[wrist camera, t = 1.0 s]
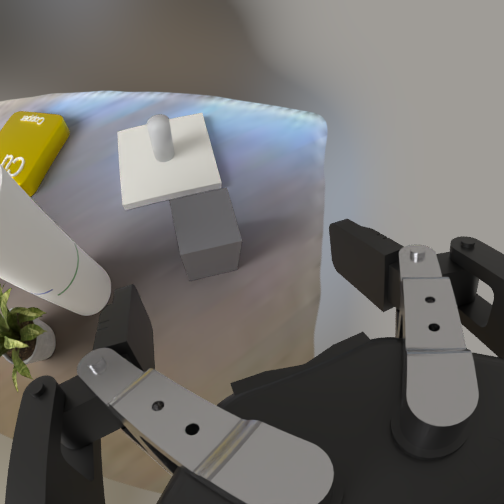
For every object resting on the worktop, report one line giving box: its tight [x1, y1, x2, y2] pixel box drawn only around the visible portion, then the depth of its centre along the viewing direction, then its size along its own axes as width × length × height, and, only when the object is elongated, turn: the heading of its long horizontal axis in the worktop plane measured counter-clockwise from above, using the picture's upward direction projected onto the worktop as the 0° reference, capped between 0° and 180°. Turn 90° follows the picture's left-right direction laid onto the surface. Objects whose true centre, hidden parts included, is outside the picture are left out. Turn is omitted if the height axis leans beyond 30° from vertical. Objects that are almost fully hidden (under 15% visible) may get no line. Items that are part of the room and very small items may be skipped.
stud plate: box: [118, 113, 222, 210], centre depth 42 cm, size 14×14×8 cm
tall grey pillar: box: [169, 188, 242, 281], centre depth 37 cm, size 6×6×10 cm
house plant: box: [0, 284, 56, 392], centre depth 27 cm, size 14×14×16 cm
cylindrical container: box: [0, 164, 111, 316], centre depth 26 cm, size 7×7×25 cm
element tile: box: [0, 111, 70, 197], centre depth 42 cm, size 15×15×5 cm
